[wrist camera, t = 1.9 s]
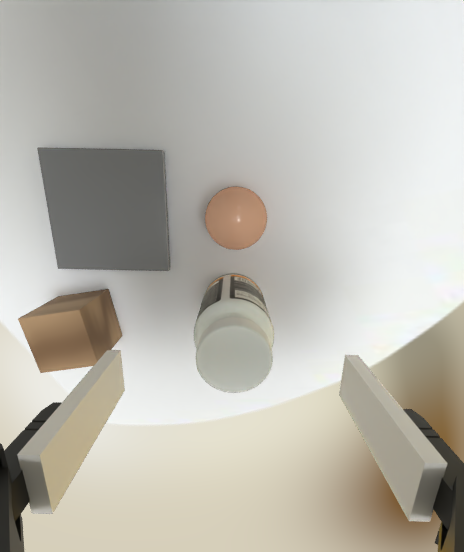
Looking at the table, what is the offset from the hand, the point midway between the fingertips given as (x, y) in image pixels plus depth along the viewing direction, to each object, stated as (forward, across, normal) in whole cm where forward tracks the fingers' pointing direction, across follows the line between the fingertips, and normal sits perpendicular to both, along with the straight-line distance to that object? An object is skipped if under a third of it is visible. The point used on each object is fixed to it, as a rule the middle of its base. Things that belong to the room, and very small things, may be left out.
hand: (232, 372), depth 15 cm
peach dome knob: (+10, 0, +9) cm, 13 cm away
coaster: (+10, -11, +9) cm, 17 cm away
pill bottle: (+11, 0, +1) cm, 11 cm away
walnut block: (+10, -14, -1) cm, 17 cm away
